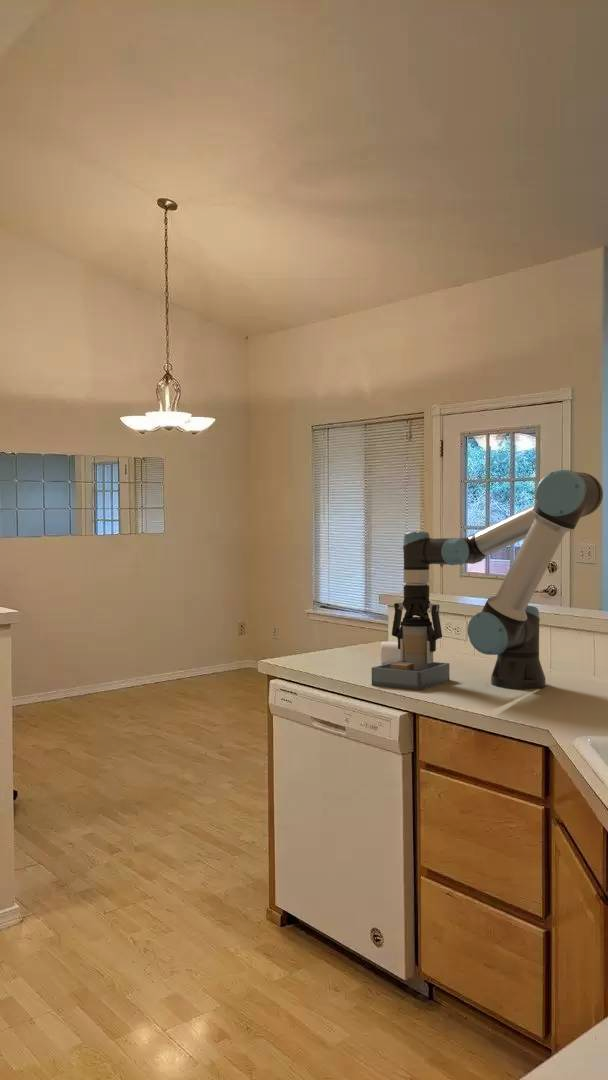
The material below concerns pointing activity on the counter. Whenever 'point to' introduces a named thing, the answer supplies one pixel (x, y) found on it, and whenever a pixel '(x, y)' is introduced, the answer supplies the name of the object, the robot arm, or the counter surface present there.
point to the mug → (389, 652)
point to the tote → (410, 676)
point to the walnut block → (403, 666)
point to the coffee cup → (416, 641)
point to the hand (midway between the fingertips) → (416, 661)
